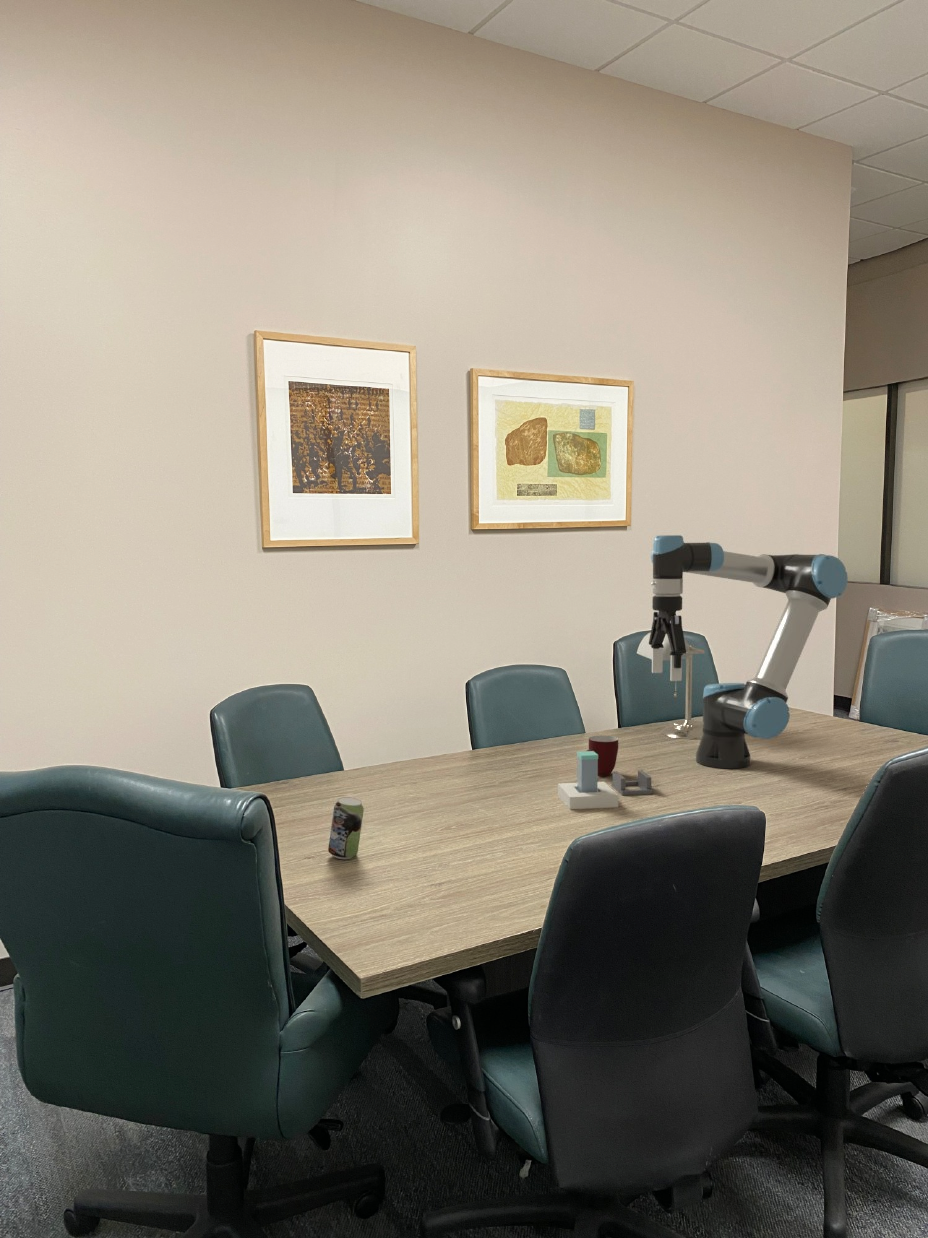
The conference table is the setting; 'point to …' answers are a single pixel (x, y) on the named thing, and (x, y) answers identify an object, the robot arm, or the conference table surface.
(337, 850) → the beverage can
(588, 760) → the plug
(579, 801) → the frame
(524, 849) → the conference table surface
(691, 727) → the lamp
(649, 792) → the holster
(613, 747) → the mug
